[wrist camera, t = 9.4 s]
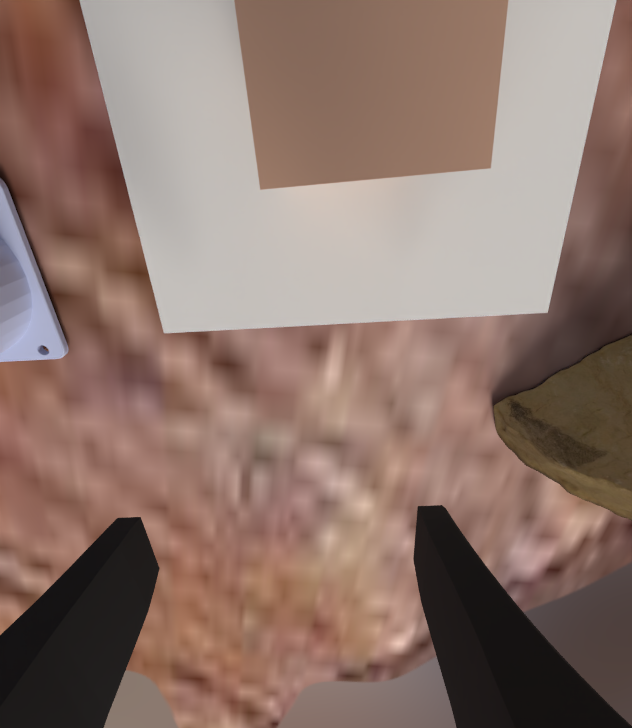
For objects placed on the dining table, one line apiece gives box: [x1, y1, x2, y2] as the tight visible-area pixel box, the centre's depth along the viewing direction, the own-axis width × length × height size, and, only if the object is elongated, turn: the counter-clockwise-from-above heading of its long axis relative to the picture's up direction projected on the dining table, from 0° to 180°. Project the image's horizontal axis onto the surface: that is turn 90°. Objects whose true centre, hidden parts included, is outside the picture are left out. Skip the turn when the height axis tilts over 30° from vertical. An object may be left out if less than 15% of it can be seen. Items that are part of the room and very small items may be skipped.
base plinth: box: [80, 0, 616, 333], centre depth 13 cm, size 15×15×3 cm
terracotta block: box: [234, 0, 508, 190], centre depth 9 cm, size 4×4×6 cm
